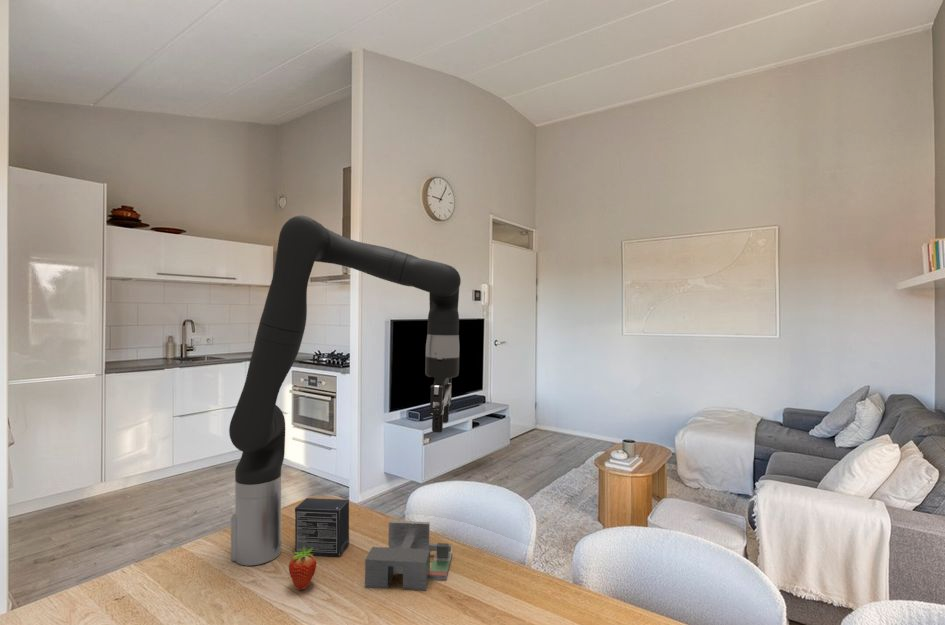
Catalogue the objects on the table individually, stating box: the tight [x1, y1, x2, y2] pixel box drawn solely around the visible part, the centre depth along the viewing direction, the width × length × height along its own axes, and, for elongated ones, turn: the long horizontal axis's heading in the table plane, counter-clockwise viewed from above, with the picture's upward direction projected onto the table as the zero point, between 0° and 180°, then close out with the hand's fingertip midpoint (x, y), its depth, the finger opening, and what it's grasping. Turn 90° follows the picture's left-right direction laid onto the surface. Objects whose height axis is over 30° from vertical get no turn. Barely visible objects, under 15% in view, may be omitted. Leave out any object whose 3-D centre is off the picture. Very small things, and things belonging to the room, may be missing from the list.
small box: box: [294, 497, 350, 558], centre depth 108 cm, size 11×6×10 cm, turn 84°
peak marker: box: [436, 542, 450, 558], centre depth 104 cm, size 2×2×2 cm, turn 85°
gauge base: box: [364, 546, 453, 592], centre depth 100 cm, size 16×14×6 cm
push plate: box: [388, 520, 452, 575], centre depth 101 cm, size 14×11×7 cm
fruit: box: [288, 546, 317, 591], centre depth 93 cm, size 5×5×8 cm
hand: (440, 427), depth 107 cm, fingers open, 8 cm apart
